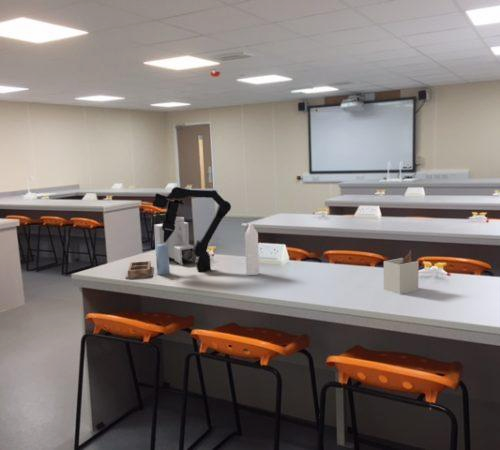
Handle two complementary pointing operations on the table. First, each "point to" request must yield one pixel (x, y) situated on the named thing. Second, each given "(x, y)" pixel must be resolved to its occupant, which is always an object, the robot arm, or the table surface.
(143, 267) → the wooden divided tray
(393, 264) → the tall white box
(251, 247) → the water bottle
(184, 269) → the table surface
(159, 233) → the electronic device
